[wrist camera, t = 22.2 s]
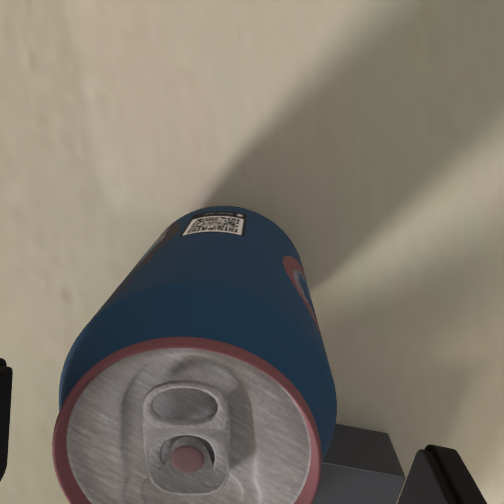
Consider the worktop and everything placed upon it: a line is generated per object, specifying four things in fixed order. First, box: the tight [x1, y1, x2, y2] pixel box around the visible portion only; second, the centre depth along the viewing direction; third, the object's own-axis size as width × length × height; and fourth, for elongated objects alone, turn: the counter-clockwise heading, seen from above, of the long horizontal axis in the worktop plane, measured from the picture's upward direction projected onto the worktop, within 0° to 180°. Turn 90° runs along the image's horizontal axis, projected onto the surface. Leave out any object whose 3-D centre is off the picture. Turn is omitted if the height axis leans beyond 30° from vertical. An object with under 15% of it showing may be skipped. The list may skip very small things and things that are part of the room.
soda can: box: [52, 206, 337, 504], centre depth 15 cm, size 7×7×12 cm
